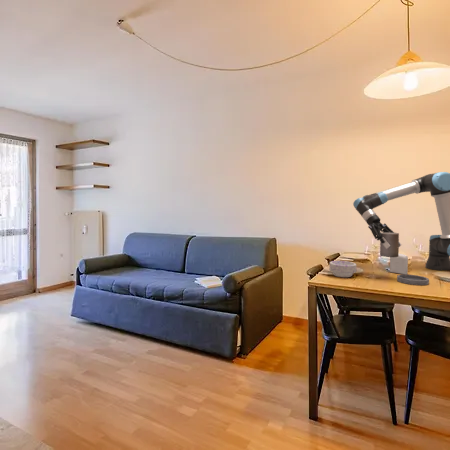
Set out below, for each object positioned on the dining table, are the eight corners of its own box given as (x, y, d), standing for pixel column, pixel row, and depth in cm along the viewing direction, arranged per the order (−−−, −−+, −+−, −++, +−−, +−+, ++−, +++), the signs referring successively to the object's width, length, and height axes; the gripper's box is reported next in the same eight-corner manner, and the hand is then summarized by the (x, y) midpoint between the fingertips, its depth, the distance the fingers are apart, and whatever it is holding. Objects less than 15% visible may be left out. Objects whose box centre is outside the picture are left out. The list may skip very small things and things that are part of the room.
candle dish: (416, 278, 181) (416, 274, 181) (435, 285, 167) (435, 280, 166) (391, 278, 181) (391, 274, 181) (407, 285, 166) (408, 280, 166)
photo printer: (388, 272, 199) (389, 253, 199) (391, 271, 202) (392, 252, 201) (405, 274, 192) (406, 255, 191) (408, 273, 194) (409, 254, 193)
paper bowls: (338, 279, 179) (338, 265, 179) (324, 273, 194) (324, 261, 194) (361, 278, 182) (362, 264, 182) (346, 272, 197) (346, 260, 197)
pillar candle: (395, 255, 187) (396, 230, 186) (400, 257, 178) (401, 231, 177) (378, 254, 189) (378, 230, 189) (382, 257, 180) (382, 231, 179)
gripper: (379, 222, 201) (401, 249, 188) (355, 222, 191) (377, 251, 178) (387, 214, 196) (410, 241, 183) (362, 214, 186) (385, 243, 173)
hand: (394, 246), depth 180 cm, fingers closed on pillar candle, 9 cm apart
